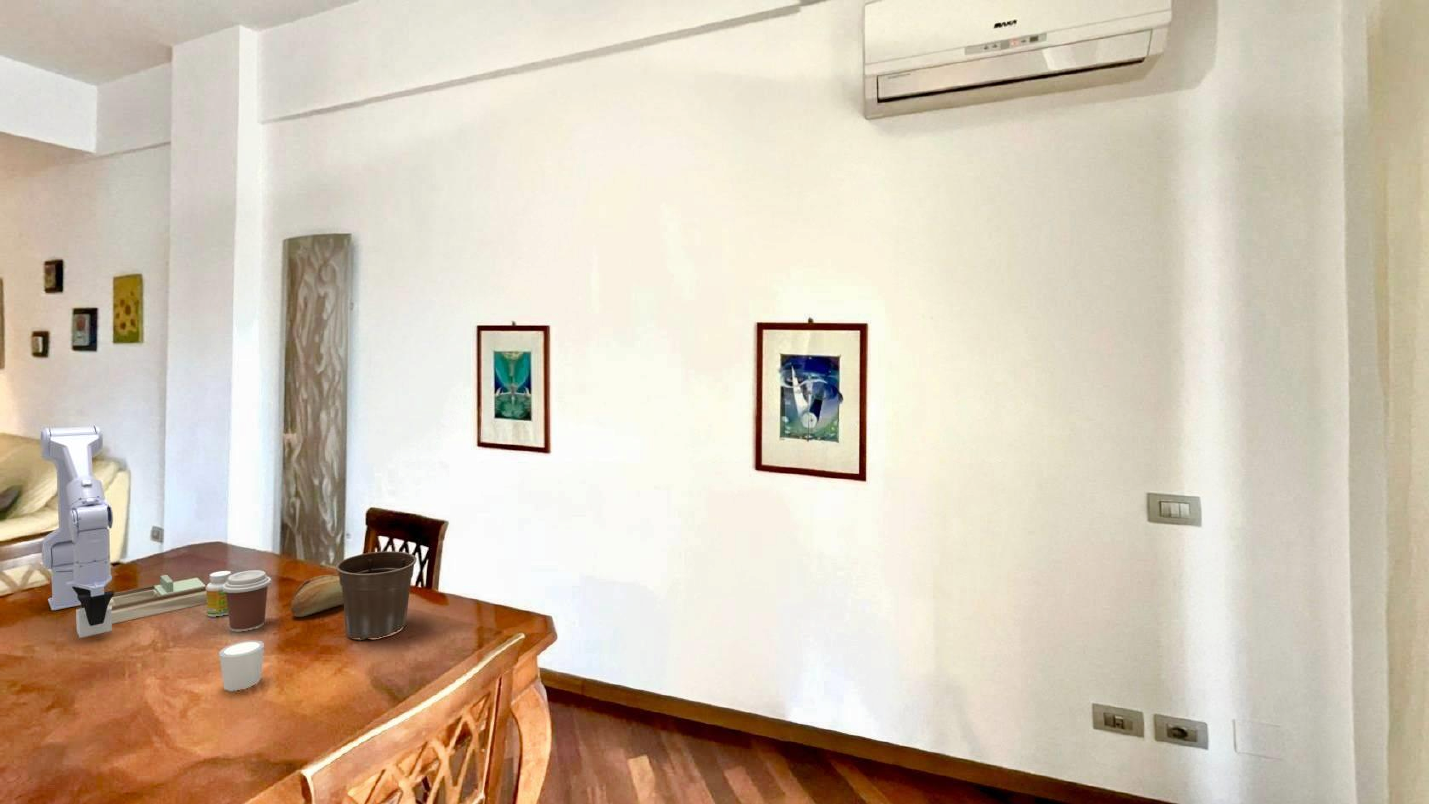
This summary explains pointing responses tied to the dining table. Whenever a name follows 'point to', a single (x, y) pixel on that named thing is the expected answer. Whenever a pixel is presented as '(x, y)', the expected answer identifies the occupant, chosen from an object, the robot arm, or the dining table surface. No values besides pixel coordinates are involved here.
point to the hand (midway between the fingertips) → (93, 619)
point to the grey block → (88, 630)
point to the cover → (176, 585)
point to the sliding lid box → (152, 602)
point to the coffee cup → (246, 599)
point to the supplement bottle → (217, 594)
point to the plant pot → (375, 592)
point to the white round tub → (241, 664)
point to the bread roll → (317, 595)
